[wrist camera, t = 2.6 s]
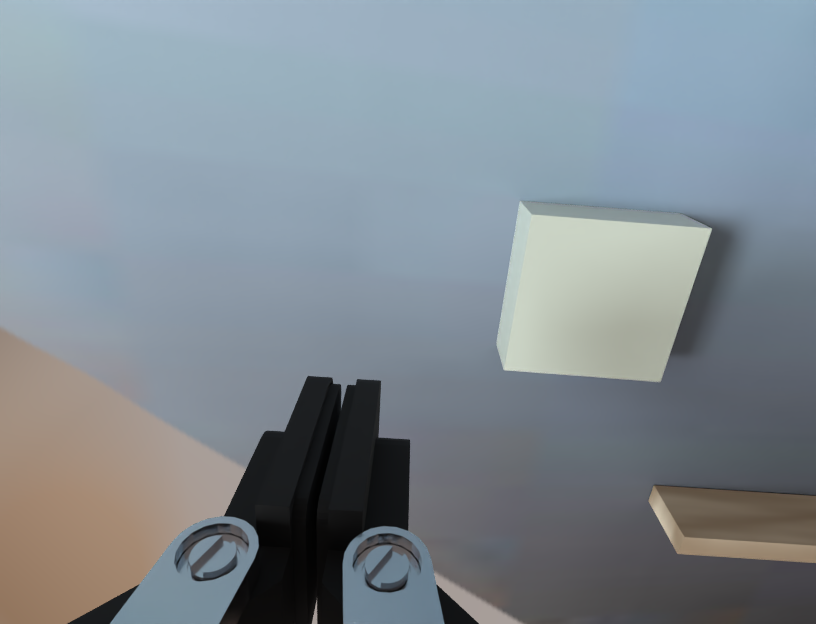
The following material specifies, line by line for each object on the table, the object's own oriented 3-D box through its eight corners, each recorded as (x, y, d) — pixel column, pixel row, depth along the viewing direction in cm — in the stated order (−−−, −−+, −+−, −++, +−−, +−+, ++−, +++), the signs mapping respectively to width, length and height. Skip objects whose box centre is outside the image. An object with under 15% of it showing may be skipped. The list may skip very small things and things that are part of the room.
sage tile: (518, 199, 19) (531, 214, 16) (676, 211, 19) (711, 228, 16) (495, 339, 21) (503, 370, 19) (634, 350, 21) (660, 382, 19)
